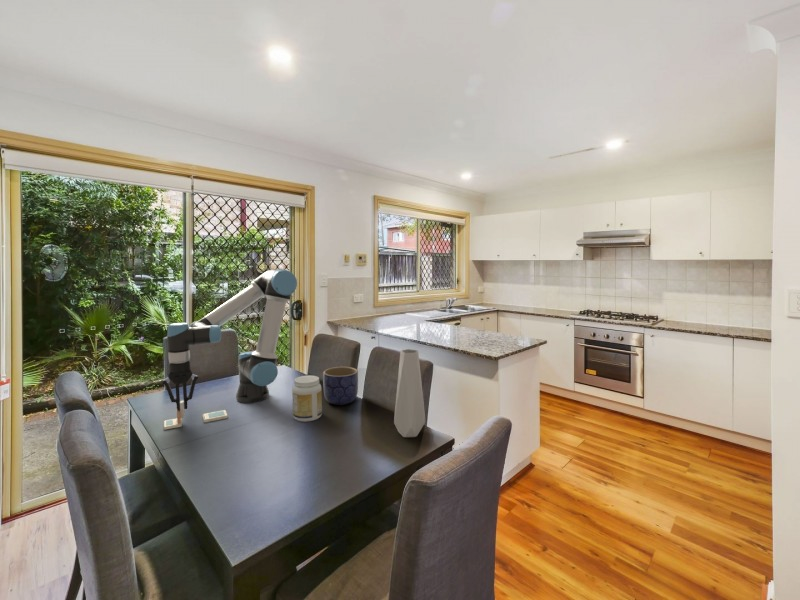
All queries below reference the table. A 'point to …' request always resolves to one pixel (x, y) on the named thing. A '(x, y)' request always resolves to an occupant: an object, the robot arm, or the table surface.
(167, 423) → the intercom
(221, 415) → the cream tablet with screen
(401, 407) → the vase
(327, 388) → the planter
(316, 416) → the supplement tub
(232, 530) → the table surface
